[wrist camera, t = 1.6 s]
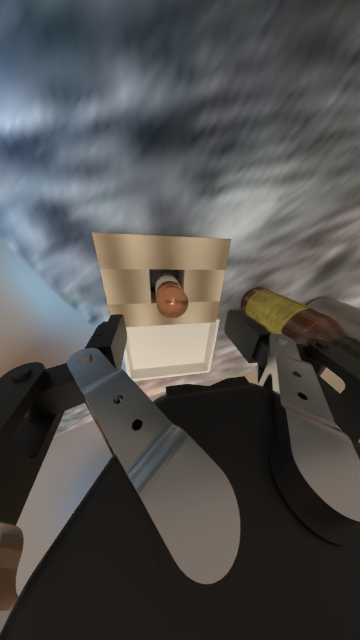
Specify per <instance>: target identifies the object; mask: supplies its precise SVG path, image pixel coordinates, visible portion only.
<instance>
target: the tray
mask: <svg viewBox="0 0 360 640" xmlns="http://www.w3.org/2000/svg"><path fill="white" fill-rule="evenodd" d="M219 322H220V319H219V318H218V317H217V318H216V322H211V323H193V324H175V325H157V326H139V327H126V331H127V342H126V347H125V351H124V359H125V364H126V369H127V374H128V376H129V377H130V378H131V379H132V380H133V381H137V380H146V379H155V378H163V377H172V376H181V375H189V374H198V373H207V372H210V367H211V362H212V357H213V352H214V347H215V342H216V337H217V332H218V327H219Z"/></svg>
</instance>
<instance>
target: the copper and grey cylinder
mask: <svg viewBox="0 0 360 640" xmlns="http://www.w3.org/2000/svg"><path fill="white" fill-rule="evenodd" d="M155 289H156V301H157V309H158V311H159V312H160V314H161V315H163V316H164V317H167V318H177V317H180V316H181V315H183V314H184V313H185V312H186V310H187V308H188V298H187V296H186V294H185V293H184V291H183V289H182V288H181V286H180V284H179V283H178V281H177V279H176V278H175V276H174V275H173V273H172V271H171V270H170V269H158V270H157V271H156V272H155Z"/></svg>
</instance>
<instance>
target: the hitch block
mask: <svg viewBox="0 0 360 640" xmlns="http://www.w3.org/2000/svg"><path fill="white" fill-rule="evenodd" d="M92 235H93V240H94V244H95V249H96V253H97V258H98V262H99V267H100V271H101V276H102V280H103V285H104V289H105V294H106V298H107V303H108V307H109V312H110V316H111V315H113V314H123V315H124V320H125V325H126V327H139V326H157V325H175V324H193V323H211V322H216V318H217V313H218V307H219V302H220V297H221V291H222V286H223V280H224V275H225V269H226V264H227V258H228V253H229V248H230V242H231V239H217V238H196V237H175V236H154V235H133V234H112V233H92ZM150 269H172V270H177V281H178V283H179V284H180V286H181V288H182V289H183V291H184V293H185V294H186V296H187V298H188V308H187V310H186V312H185V313H184V314H183V315H181V316H180V317H177V318H167V317H164V316H163V315H161V314H160V312H159V311H158V309H157V301H156V290H151V280H150Z"/></svg>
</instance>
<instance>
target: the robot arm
mask: <svg viewBox="0 0 360 640" xmlns="http://www.w3.org/2000/svg"><path fill="white" fill-rule="evenodd" d="M306 306H308V307H310V308H313V309H315V310H316V311H318V312H320V313H322V314H325V315H327V316H330V317H332V318H333V319H335V320H336V321H338V322H339V324H340V325H341V326H342V328H343V329H344V331H345V333H346V334H347V335H348V336H349V337H351V338H356V339H357V340H358V341H359V342H360V308H357V307H354V306H351V305H348V304H345V303H342V302H339V301H336V300H333V299H330V298H327V297H320V298H317V299H315V300H313V301H311V302H309V303H308V304H307V305H306ZM224 329H225V333H226V335H227V336H228V337H229V339H230V340H231V341H232V342H233V344H234V345H235V346H236V347H237V349H238V350H239V351H240V353H241V354H242V355H243V356H244V358H245V359H246V360H247V361H248V363H256V362H257V363H258V364H257V366H256V378H255V384H253V383H249V382H248V381H247V379H246V378H245V377H244V376H243V377H236V378H228V379H225V380H222V381H220V382H218V383H216V384H213V385H211V386H202V385H192V384H183V385H176V386H168V387H166V394H164V395H163V396H160V397H159V398H157V399H155V400H154V401H153V402H152V401H151V400H150V399H149V397H148V396H147V395H146V394H145V393H144V392H143V391H142V390H141V389H140V388H139V387H138V385H137V384H136V383H135V382H134V381H133V380H132V379H131V378H130V377H129V376H128V375H127V374H126V372H125V371H124V370H123V369H121V365H122V360H123V356H124V351H125V347H126V342H127V331H126V325H125V320H124V315H123V314H113V315H111V316H110V318H109V320H108V322H103V323H101V324H100V325H99V326H98V327H97V328H96V330H95V332H94V334H93V336H92V337H91V339H90V340H89V342H88V344H87V346H86V347H85V349H83V350H80V351H78V352H76V353H74V354H73V355H72V356H70V357H69V359H68V360H67V363H65V364H62V365H59V366H55V367H52V368H48V369H46V368H45V367H44V365H43V364H42V363H38V362H35V363H34V362H33V363H28V364H24V365H21V366H19V367H16V368H14V369H12V370H11V371H9V372H7V373H6V374H5V375H3V376H2V377H1V378H0V640H360V361H358V360H357V359H355V358H353V357H352V356H350V355H348V354H347V353H345V352H344V351H342V350H340V349H339V348H337V347H336V346H334V345H332V344H331V343H329V342H326V341H324V340H321V339H317V338H309V339H308V340H307V342H306V344H305V345H303V344H296V343H295V342H294V341H293V340H292V339H291V338H289V337H287V336H285V335H282V334H272V333H270V332H269V331H268V330H266V329H265V328H264V327H263V326H261V325H260V324H259V323H258V322H256V321H255V320H254V319H252V318H251V317H249V316H247V315H246V314H245V313H243V312H242V311H241V310H239V309H236V310H229V311H228V314H227V318H226V323H225V328H224ZM326 367H327V368H328V369H330V370H331V371H332V372H334V373H335V374H336V375H338V376H339V377H340V378H341V379H342V380H343V381H344V383H345V390H343V391H342V392H341V394H339V393H338V392H337V391H336V390H335V389H334V388H333V387H332V386H330V385H329V384H328V383H327V382H326V381H325V380H323V379H322V378H321V377H320V375H321V374H322V372H323V371H324V370H325V368H326ZM82 403H85V404H86V406H87V408H88V410H89V411H90V413H91V415H92V417H93V419H94V421H95V423H96V425H97V427H98V429H99V431H100V433H101V435H102V437H103V439H104V441H105V442H106V445H107V446H108V448H109V450H110V452H111V454H112V457H111V459H110V460H109V462H108V463H107V465H106V466H105V468H104V469H103V471H102V472H101V473H100V475H99V476H98V478H97V479H96V481H95V482H94V484H93V485H92V487H91V488H90V489H89V491H88V492H87V494H86V495H85V497H84V498H83V500H82V501H81V503H80V504H79V505H78V507H77V508H76V510H75V511H74V513H73V514H72V516H71V517H70V519H69V520H68V522H67V523H66V525H65V526H64V528H63V529H62V530H61V532H60V533H59V535H58V536H57V538H56V539H55V541H54V542H53V544H52V545H51V546H50V548H49V550H48V551H47V552H46V554H45V555H44V557H43V558H42V560H41V561H40V563H39V564H38V566H37V567H36V569H35V570H34V572H33V573H32V575H31V576H30V578H29V580H28V581H27V583H26V585H25V586H24V588H23V590H22V592H21V593H20V595H19V597H18V595H17V592H16V573H17V569H18V565H19V561H20V558H21V554H22V550H23V544H24V543H23V542H24V538H23V533H22V530H21V529H20V528H19V527H18V526H16V524H17V521H18V519H19V517H20V514H21V512H22V509H23V507H24V505H25V502H26V500H27V498H28V495H29V493H30V491H31V488H32V486H33V484H34V481H35V479H36V477H37V474H38V472H39V470H40V467H41V465H42V463H43V460H44V458H45V456H46V453H47V451H48V449H49V446H50V444H51V442H52V439H53V437H54V435H55V432H56V430H57V428H58V425H59V423H60V421H61V418H62V416H63V414H64V411H65V410H68V409H70V408H73V407H75V406H77V405H80V404H82ZM336 425H337V426H338V427H339V428H340V429H341V430H342V431H341V430H340V429H338V427H337V426H336Z"/></svg>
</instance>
